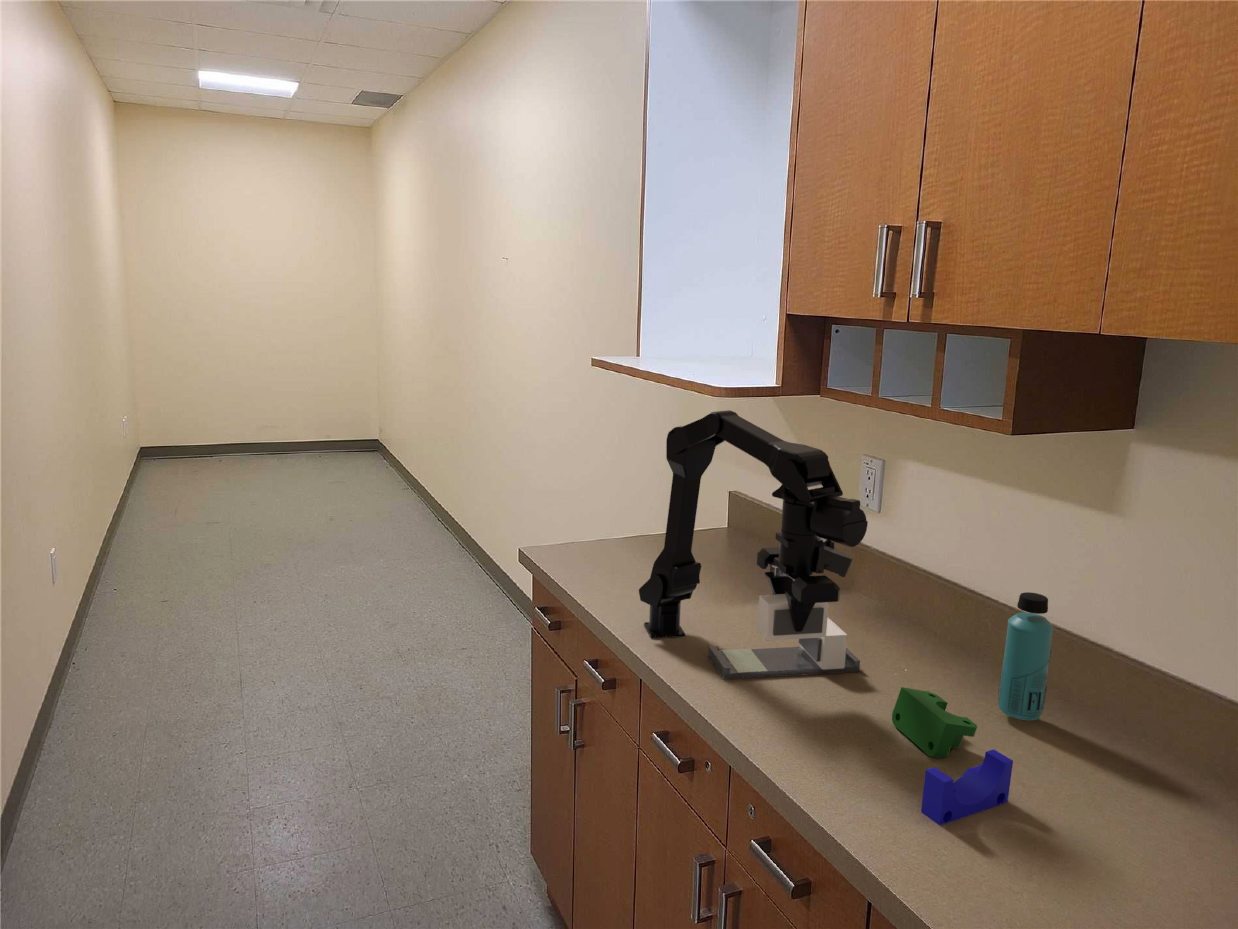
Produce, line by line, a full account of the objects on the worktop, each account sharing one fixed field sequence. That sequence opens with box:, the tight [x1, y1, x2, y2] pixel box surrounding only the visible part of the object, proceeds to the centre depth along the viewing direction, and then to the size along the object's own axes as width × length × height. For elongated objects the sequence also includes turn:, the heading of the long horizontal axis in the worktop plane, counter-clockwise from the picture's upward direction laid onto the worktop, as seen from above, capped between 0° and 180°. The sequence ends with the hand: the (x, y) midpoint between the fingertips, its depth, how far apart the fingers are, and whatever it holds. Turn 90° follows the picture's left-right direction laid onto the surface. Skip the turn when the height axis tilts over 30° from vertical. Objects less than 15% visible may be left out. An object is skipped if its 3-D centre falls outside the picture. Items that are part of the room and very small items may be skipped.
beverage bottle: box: [996, 591, 1054, 721], centre depth 133 cm, size 6×7×20 cm
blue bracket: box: [920, 749, 1014, 826], centre depth 112 cm, size 12×4×6 cm, turn 117°
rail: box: [707, 645, 861, 680], centre depth 152 cm, size 9×24×2 cm, turn 101°
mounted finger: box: [798, 617, 848, 670], centre depth 152 cm, size 10×5×6 cm, turn 11°
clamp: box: [891, 686, 978, 759], centre depth 128 cm, size 12×6×9 cm, turn 9°
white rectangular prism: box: [756, 593, 830, 642], centre depth 139 cm, size 4×10×6 cm, turn 102°
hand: (792, 625), depth 139 cm, fingers closed on white rectangular prism, 4 cm apart
